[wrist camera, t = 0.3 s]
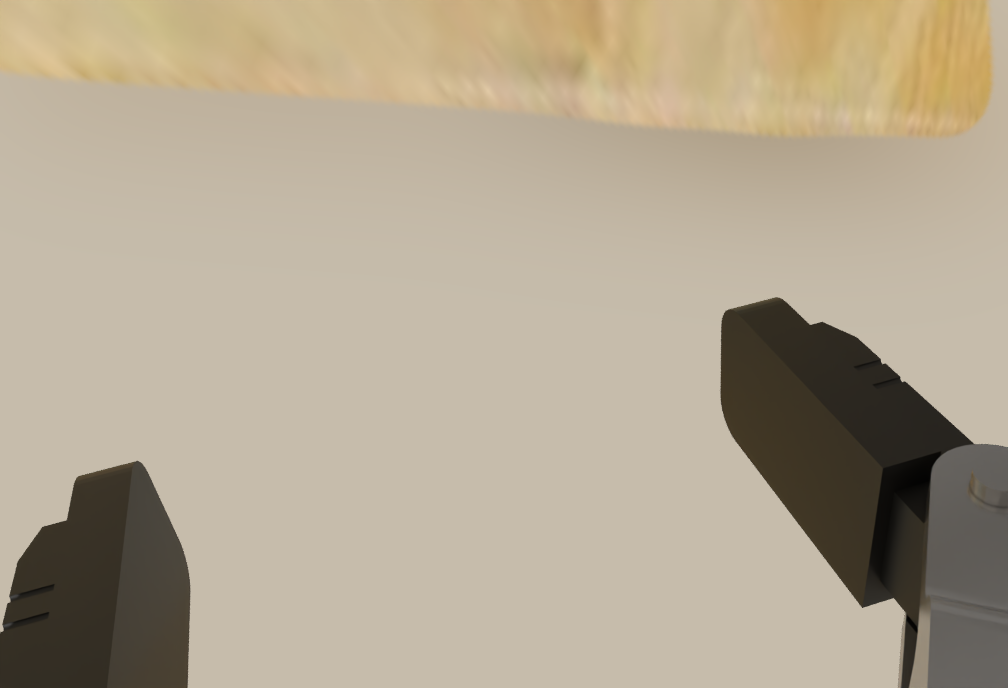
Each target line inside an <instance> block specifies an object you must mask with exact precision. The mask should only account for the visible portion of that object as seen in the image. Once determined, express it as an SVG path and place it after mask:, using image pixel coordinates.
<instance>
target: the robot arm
mask: <svg viewBox="0 0 1008 688" xmlns="http://www.w3.org/2000/svg"><path fill="white" fill-rule="evenodd" d="M721 405H722V411H723V414H724V418H725V421H726V423H727V426H728V428H729V430H730V433H731V434H732V436H733V438H734V439H735V441H736V442H737V443H738V445H739V446H740V447H741V449H742V450H743V451H744V453H745V454H746V455H747V457H748V458H749V459H750V461H751V462H752V463H753V464H754V466H755V467H756V468H757V470H758V471H759V472H760V474H761V475H762V476H763V478H764V479H765V480H766V481H767V483H768V484H769V486H770V487H771V488H772V490H773V491H774V492H775V494H776V495H777V496H778V497H779V499H780V500H781V501H782V503H783V504H784V505H785V507H786V508H787V509H788V511H789V512H790V513H791V514H792V516H793V517H794V519H795V520H796V521H797V522H798V524H799V525H800V526H801V528H802V529H803V530H804V532H805V533H806V534H807V536H808V537H809V538H810V539H811V541H812V542H813V543H814V545H815V546H816V547H817V549H818V550H819V551H820V553H821V554H822V555H823V557H824V558H825V559H826V560H827V562H828V563H829V565H830V566H831V567H832V569H833V570H834V571H835V572H836V574H837V575H838V576H839V578H840V579H841V580H842V582H843V583H844V584H845V585H846V587H847V588H848V590H849V591H850V592H851V594H852V595H853V596H854V598H855V599H856V600H857V601H858V603H859V604H860V605H861V607H862V608H863V607H867V606H870V605H873V604H876V603H879V602H882V601H886V600H888V599H892V598H894V599H895V600H896V601H897V602H898V604H899V605H900V606H901V607H902V609H903V610H904V611H905V615H904V621H903V626H902V636H901V637H902V638H901V650H900V664H899V678H898V688H1008V447H1004V446H999V445H989V444H973V442H971V441H970V440H969V439H968V438H967V437H966V436H965V435H964V434H962V433H961V432H960V431H959V430H958V429H957V428H956V427H955V426H954V425H953V424H952V423H951V422H949V421H948V420H947V419H946V418H945V417H944V416H943V415H942V414H941V413H939V412H938V411H937V410H936V409H935V408H934V407H933V406H932V405H931V404H930V403H928V402H927V401H926V400H925V399H924V398H923V397H922V396H921V395H920V394H919V393H917V392H916V391H915V390H914V389H913V388H912V387H911V386H910V385H908V383H906V382H901V380H900V376H899V375H898V374H897V373H895V372H894V371H893V370H892V369H891V368H890V367H889V366H888V365H887V364H882V363H881V359H880V358H879V357H878V356H877V355H876V354H874V353H873V352H872V351H871V350H870V349H869V348H868V347H867V346H866V345H865V344H863V343H862V342H861V341H860V340H859V339H858V338H856V337H855V336H852V335H850V334H848V333H846V332H844V331H841V330H839V329H837V328H835V327H832V326H830V325H828V324H826V323H823V322H820V323H817V324H813V325H809V324H808V323H807V322H806V321H805V320H804V319H803V318H802V317H801V316H800V315H799V314H798V313H797V312H796V311H795V310H794V309H793V308H792V307H791V306H789V304H788V303H786V302H785V301H784V300H783V299H781V298H777V297H776V298H772V299H768V300H764V301H760V302H756V303H752V304H749V305H745V306H741V307H737V308H733V309H729V310H727V311H726V312H725V313H724V315H723V318H722V327H721ZM9 597H10V599H11V602H10V603H8V604H7V608H6V612H5V616H4V620H3V628H4V631H3V632H1V633H0V688H187V685H188V652H189V619H190V579H189V573H188V567H187V562H186V558H185V555H184V551H183V549H182V546H181V543H180V541H179V539H178V537H177V534H176V532H175V530H174V528H173V526H172V524H171V522H170V519H169V517H168V515H167V513H166V511H165V509H164V506H163V504H162V502H161V500H160V498H159V496H158V494H157V491H156V489H155V487H154V485H153V483H152V480H151V478H150V476H149V474H148V472H147V471H146V469H145V467H144V466H143V464H142V463H141V462H139V461H136V462H132V463H128V464H124V465H120V466H116V467H112V468H108V469H105V470H101V471H97V472H94V473H89V474H85V475H82V476H78V477H77V478H76V480H75V483H74V487H73V492H72V497H71V502H70V507H69V512H68V518H67V521H63V522H59V523H56V524H52V525H48V526H44V527H42V528H41V530H40V532H39V533H38V534H37V535H36V537H35V538H34V540H33V541H32V542H31V544H30V545H29V547H28V548H27V549H26V551H25V552H24V554H23V555H22V557H21V558H20V559H19V561H18V563H17V567H16V571H15V575H14V579H13V583H12V587H11V592H10V596H9Z"/></svg>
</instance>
